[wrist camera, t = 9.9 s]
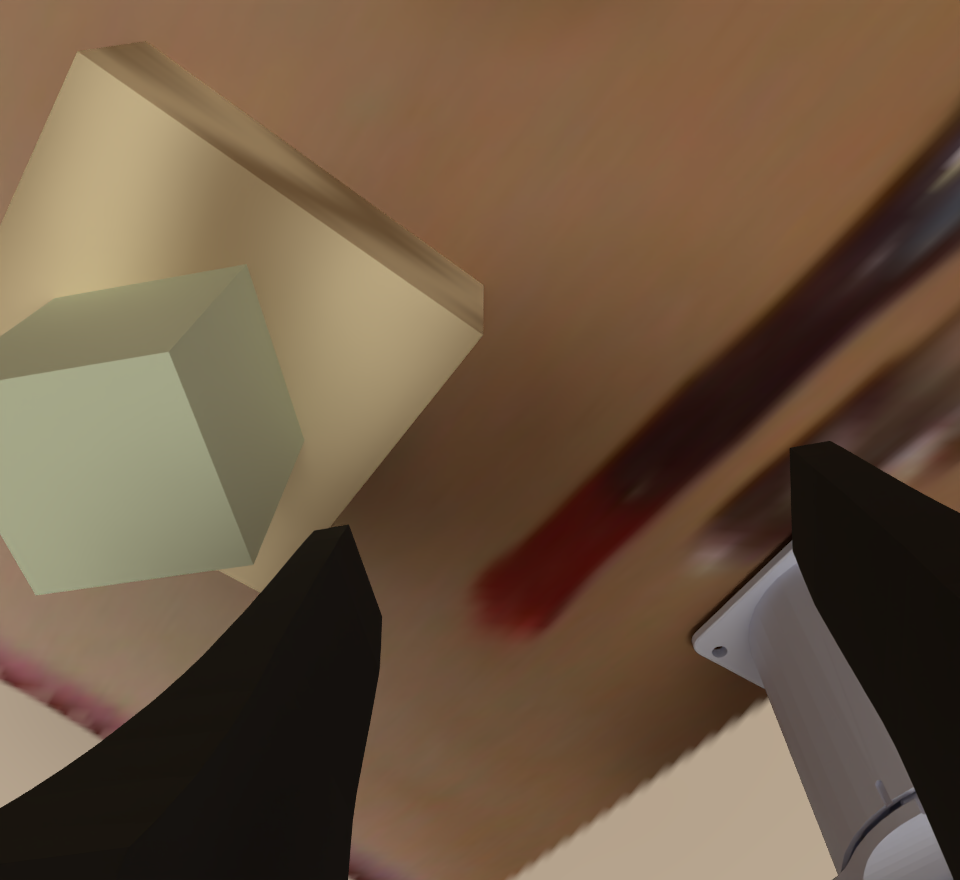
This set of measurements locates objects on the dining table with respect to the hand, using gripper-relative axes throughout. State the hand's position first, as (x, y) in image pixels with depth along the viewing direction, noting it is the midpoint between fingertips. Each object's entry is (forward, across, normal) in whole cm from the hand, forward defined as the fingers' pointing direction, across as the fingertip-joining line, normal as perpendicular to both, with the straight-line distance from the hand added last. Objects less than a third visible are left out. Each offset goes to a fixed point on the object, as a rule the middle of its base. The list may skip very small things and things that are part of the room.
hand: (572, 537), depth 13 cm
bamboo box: (+11, +8, -2) cm, 14 cm away
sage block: (+7, +8, -2) cm, 11 cm away
